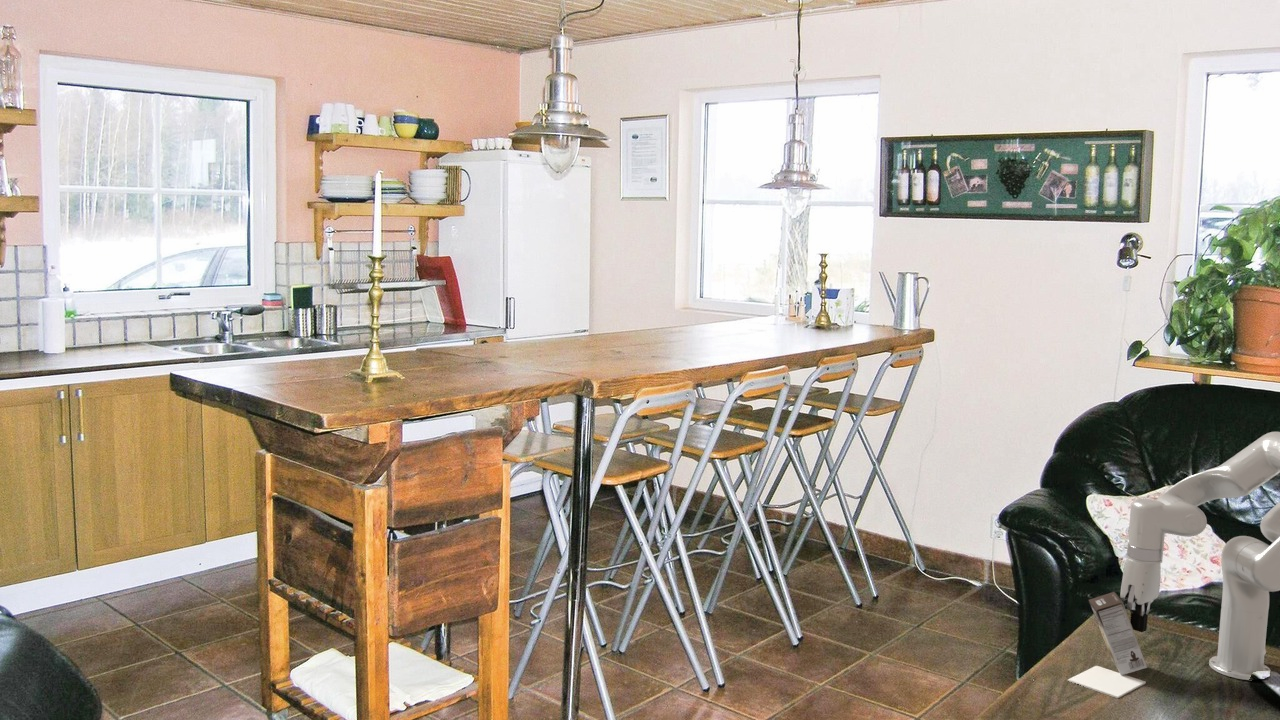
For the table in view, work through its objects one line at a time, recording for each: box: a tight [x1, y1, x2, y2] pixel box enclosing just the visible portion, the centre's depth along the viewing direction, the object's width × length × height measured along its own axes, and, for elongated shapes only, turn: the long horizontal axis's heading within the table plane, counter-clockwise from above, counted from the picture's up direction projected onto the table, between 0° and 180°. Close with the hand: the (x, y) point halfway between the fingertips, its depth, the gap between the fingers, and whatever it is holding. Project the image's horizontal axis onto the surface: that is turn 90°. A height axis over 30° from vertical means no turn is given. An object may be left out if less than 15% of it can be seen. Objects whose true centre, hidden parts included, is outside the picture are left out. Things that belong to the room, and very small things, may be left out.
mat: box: [1067, 665, 1147, 699], centre depth 246 cm, size 13×12×1 cm
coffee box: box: [1088, 591, 1148, 675], centre depth 253 cm, size 9×6×16 cm
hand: (1138, 629), depth 253 cm, fingers closed
